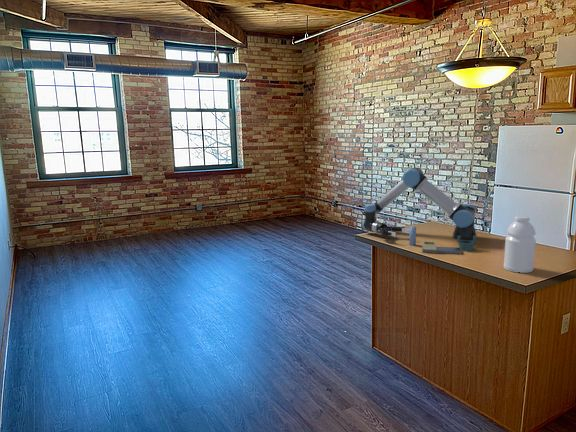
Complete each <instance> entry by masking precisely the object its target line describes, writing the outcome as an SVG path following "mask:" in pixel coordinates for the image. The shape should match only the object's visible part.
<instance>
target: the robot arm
mask: <svg viewBox="0 0 576 432" xmlns="http://www.w3.org/2000/svg"><path fill="white" fill-rule="evenodd" d="M401 177H402V179H401V180H400V181H399V182H398V183H396V185H394V186H393V187H392V188H391V189H390V190H389V191H387V192H386V193H385V194H384V195H383V196H381V197H380V198H379V199H377V201H375V202H374V203H367V204H365V206H364V220H362V222H361V228H362V229H363V230H366V231H368V232H373V233H375V234H381V235H382V236H385V237H388V236H390V237H394V238H395V237H397V232H401V233H404V234H409V235H410V228H405V227H404V226H394V225H391V226H389V225H387V224H386V223H383V222H381V221H380V222H379V221H376V216H377V215H378V214H380V213H381V212H382V211H383V210H384V209H385V208H387V207H388V206H389V205H390V204H392V202H394V201H395V200H396V199H398V198H399V197H400V196H402V194H404V193H405V192H406V191H407V190H408V189H410V188H412V189H413V190H414V191H415V192H417V191H418V192H420V193H421V194H422V195H423V196H425V197H426V198H428V199H429V200H430V201H431V202H433V204H435V205H436V206H438V207H439V208H440V209H442V210H443V211H444V212H445V213H447V217H448V218H449V219H451V220H452V222H453V223H454V224H455V227H454V230H453V233H452V237H453V239H458V236H460V240H470V241H473V236H476V239H477V231H476V228H475V222H476V221H475V219H476V210H477V209H476V205H474V204H469V203H468V204H465V203H463V204H462V203H457V202H455V201H454V200H453V199H452V198H451V197H449V196H448V195H447V194H445V193H444V192H443V191H441V190H440V189H439V188H437V187H436V186H435V185H434V184H432V183H431V182H430V181H429V180H428V177H427V176H426V175H425V174H424V172H423V170H422V169H421V168H420V167H411V168H408V169H406V170H405V171H404V172H403V173H402V176H401Z"/></svg>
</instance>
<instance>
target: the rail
mask: <svg viewBox="0 0 576 432" xmlns="http://www.w3.org/2000/svg"><path fill="white" fill-rule="evenodd" d="M421 245H422V246H421V251H422V252H421V253H425V254H427V253H428V254H445V255H446V254H448V255H462V251H461V249H460V248H459V247H454V246H453V247H452V246H437V241H425V240H424V241H422V244H421Z"/></svg>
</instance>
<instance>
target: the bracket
mask: <svg viewBox="0 0 576 432" xmlns="http://www.w3.org/2000/svg"><path fill="white" fill-rule="evenodd" d="M456 239H457V238H456ZM456 241H457V243H458V244H459V245H458V246H459V247H458V248H460V249H461V252H462V251H463V252H474V251H475V250H474V249H475V244H476V243H477V238H476V236H473V239H472V240H463V239H460V236H458V239H457V240H456Z"/></svg>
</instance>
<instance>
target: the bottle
mask: <svg viewBox="0 0 576 432" xmlns="http://www.w3.org/2000/svg"><path fill="white" fill-rule="evenodd" d="M506 233H507V234H508V235H507V236H506V237H505V241H504V242H505V243H504V254H503V255H504V256H503V257H504V259H503V269H505V270H507V271H509V272H512V273H518V272H520V273H522V274H528V273H531V272H533V271H534V268H535V267H534V263H535V262H534V261H535V251H536V242H537V240H536V238H535V237H534V236H535V235H536V229H535V228H534V226H533V225H532V224H531V223H530V217H529V216H525V215H516V216H514V221H513V222H512V223H510V225H508V227H507V230H506ZM520 273H519V274H520Z"/></svg>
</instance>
